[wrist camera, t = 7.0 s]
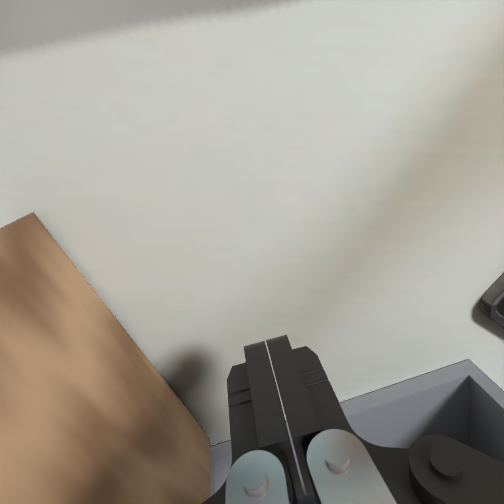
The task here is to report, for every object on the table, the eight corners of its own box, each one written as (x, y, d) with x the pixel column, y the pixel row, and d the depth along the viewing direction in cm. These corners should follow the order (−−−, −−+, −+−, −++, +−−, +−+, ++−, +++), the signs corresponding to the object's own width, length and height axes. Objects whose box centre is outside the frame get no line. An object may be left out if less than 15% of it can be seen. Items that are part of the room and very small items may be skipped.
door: (210, 438, 19) (210, 677, 11) (178, 452, 19) (154, 698, 11) (33, 212, 13) (-287, 378, 5) (-13, 234, 13) (-409, 436, 5)
